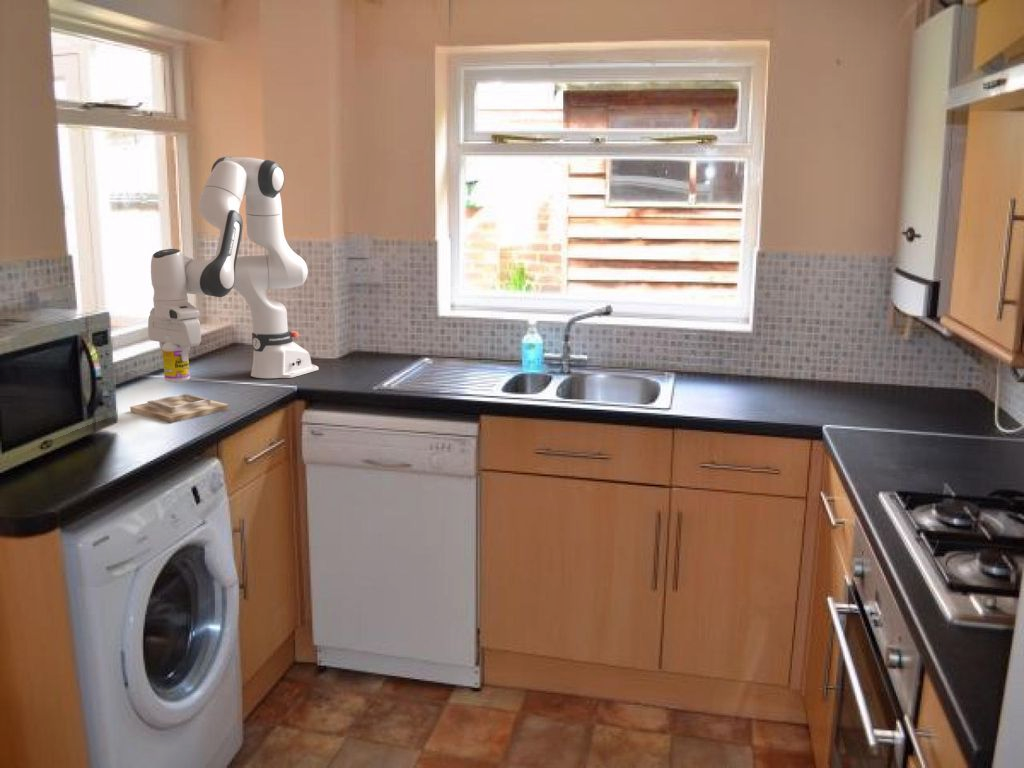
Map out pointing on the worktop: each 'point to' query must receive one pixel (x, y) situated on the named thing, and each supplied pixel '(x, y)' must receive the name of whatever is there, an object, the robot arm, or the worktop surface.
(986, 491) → the worktop surface
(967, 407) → the worktop surface
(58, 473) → the worktop surface
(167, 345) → the supplement bottle
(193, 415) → the pocket board
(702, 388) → the worktop surface
